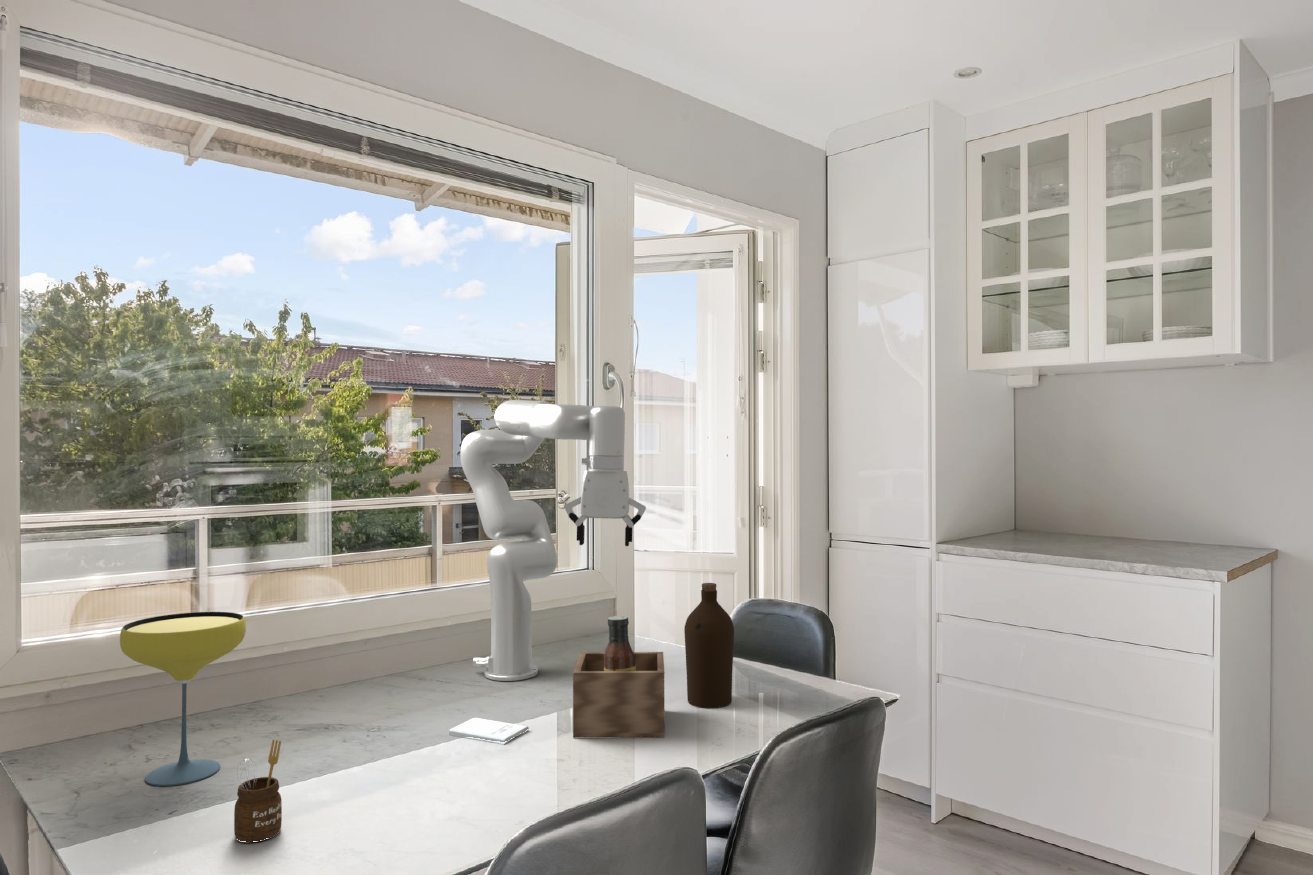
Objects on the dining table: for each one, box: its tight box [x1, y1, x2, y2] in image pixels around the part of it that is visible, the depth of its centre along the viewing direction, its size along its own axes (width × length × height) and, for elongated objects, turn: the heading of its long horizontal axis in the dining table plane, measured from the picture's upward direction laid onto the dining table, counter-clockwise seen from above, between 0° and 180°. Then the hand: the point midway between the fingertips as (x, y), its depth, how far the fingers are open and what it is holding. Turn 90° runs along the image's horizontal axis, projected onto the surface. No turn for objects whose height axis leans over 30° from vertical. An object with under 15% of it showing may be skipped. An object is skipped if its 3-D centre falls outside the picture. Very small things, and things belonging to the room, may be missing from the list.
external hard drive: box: [448, 717, 530, 742], centre depth 155 cm, size 2×8×12 cm
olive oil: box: [683, 582, 735, 709], centre depth 174 cm, size 11×11×25 cm
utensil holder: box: [233, 739, 283, 842], centre depth 113 cm, size 6×6×12 cm
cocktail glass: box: [119, 611, 247, 787], centre depth 135 cm, size 18×18×25 cm
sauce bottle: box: [603, 615, 636, 671], centre depth 160 cm, size 7×6×20 cm
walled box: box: [572, 651, 666, 739], centre depth 160 cm, size 17×16×12 cm
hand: (604, 544), depth 173 cm, fingers open, 9 cm apart
